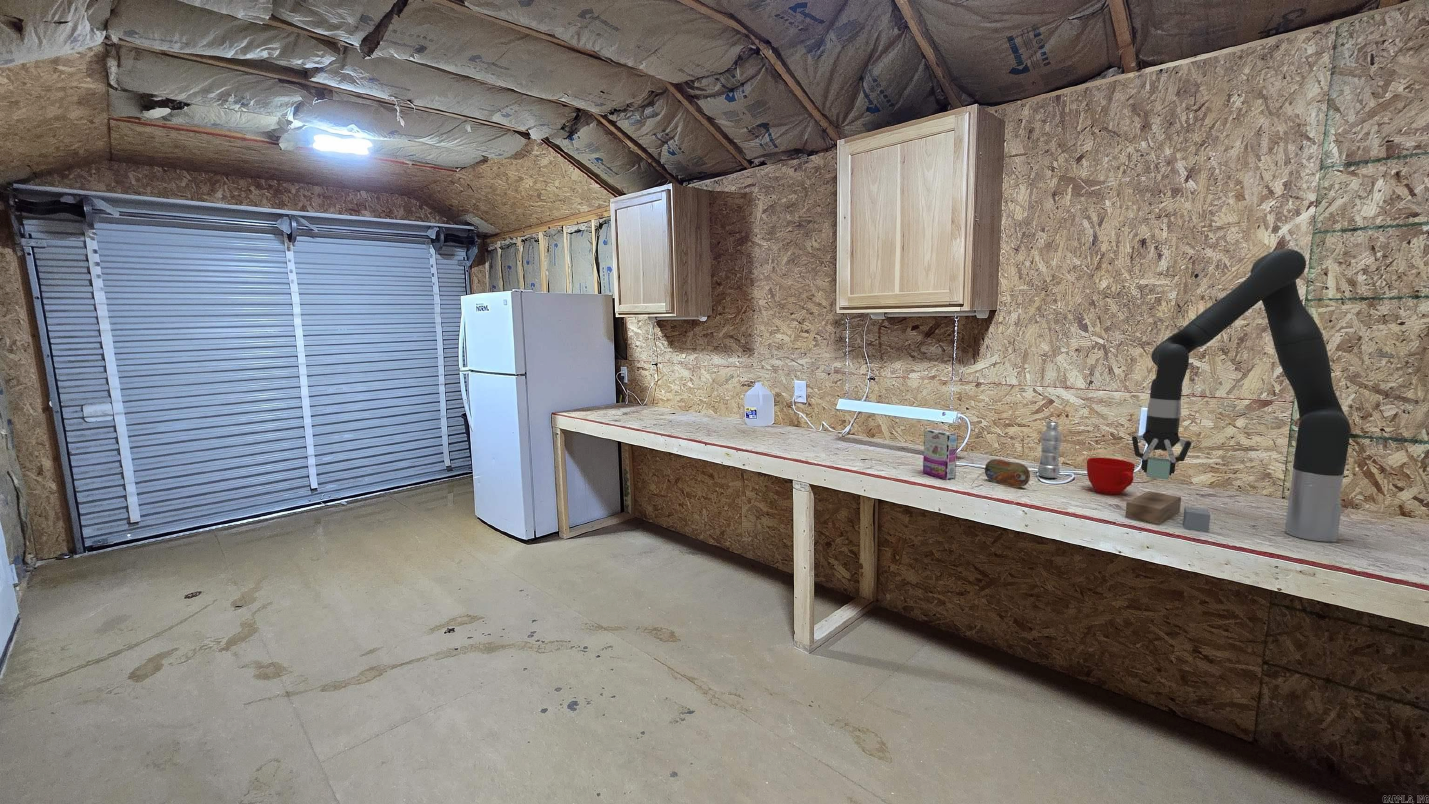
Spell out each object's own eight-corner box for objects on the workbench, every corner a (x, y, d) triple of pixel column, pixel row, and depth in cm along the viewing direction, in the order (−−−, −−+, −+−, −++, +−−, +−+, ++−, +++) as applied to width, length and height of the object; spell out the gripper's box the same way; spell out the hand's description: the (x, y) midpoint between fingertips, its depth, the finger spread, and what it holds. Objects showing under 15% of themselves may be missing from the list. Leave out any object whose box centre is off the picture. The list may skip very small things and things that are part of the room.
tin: (983, 480, 210) (985, 456, 209) (988, 479, 212) (990, 455, 210) (1025, 490, 197) (1027, 465, 196) (1030, 489, 199) (1032, 464, 198)
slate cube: (1205, 527, 163) (1208, 509, 162) (1208, 533, 158) (1210, 514, 158) (1182, 524, 165) (1184, 506, 165) (1184, 529, 161) (1186, 511, 161)
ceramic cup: (1108, 501, 185) (1111, 470, 184) (1076, 486, 202) (1078, 457, 201) (1150, 501, 185) (1153, 470, 184) (1114, 486, 202) (1117, 457, 201)
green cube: (1167, 475, 172) (1169, 458, 171) (1168, 479, 168) (1170, 462, 167) (1145, 473, 175) (1147, 456, 174) (1146, 477, 170) (1148, 459, 170)
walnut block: (1179, 513, 175) (1181, 497, 174) (1158, 526, 164) (1160, 509, 163) (1147, 506, 181) (1148, 490, 181) (1125, 518, 170) (1126, 502, 170)
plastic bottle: (1039, 474, 218) (1043, 420, 215) (1060, 477, 214) (1065, 422, 211) (1035, 477, 213) (1039, 422, 210) (1057, 481, 209) (1061, 424, 206)
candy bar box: (956, 478, 212) (958, 433, 210) (946, 480, 210) (948, 434, 207) (931, 471, 222) (933, 428, 219) (921, 473, 219) (923, 429, 217)
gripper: (1194, 415, 168) (1187, 474, 170) (1132, 410, 176) (1126, 467, 178) (1197, 418, 162) (1190, 480, 164) (1132, 414, 169) (1126, 472, 172)
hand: (1157, 473), depth 171 cm, fingers closed on green cube, 5 cm apart
